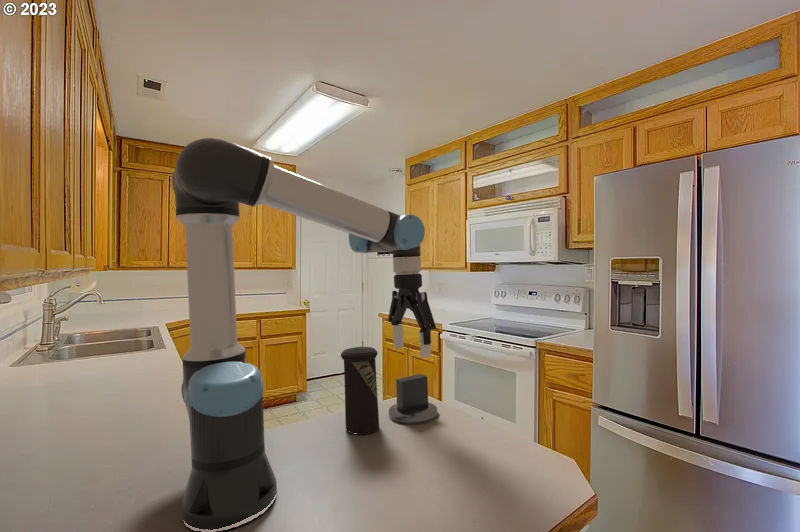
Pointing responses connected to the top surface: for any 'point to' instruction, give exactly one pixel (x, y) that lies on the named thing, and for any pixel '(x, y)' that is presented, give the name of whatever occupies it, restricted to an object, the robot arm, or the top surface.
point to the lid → (412, 401)
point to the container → (360, 390)
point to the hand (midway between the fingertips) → (411, 352)
